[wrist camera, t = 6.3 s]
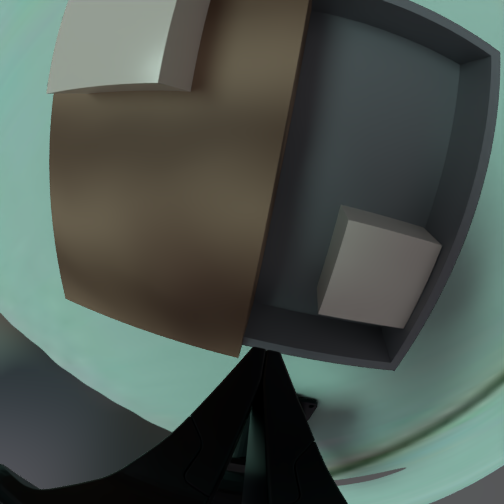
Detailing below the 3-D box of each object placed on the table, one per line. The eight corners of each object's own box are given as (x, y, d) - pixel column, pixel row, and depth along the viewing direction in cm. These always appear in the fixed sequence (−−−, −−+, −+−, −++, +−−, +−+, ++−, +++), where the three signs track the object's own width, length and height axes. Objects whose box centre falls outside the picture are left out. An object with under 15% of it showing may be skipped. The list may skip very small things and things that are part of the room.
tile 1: (190, 91, 9) (157, 82, 6) (87, 93, 9) (46, 93, 7) (216, -20, 6) (194, -51, 4) (110, -4, 7) (75, -19, 4)
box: (382, 328, 17) (394, 370, 14) (254, 302, 18) (241, 344, 14) (462, 62, 9) (500, 52, 6) (312, 7, 10) (314, -28, 6)
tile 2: (318, 314, 13) (316, 287, 16) (403, 328, 13) (392, 302, 15) (348, 219, 11) (340, 204, 14) (442, 245, 11) (423, 227, 13)
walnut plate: (254, 302, 18) (238, 357, 13) (107, 262, 19) (65, 298, 14) (312, 7, 10) (315, -39, 5) (130, 8, 11) (81, -15, 6)
